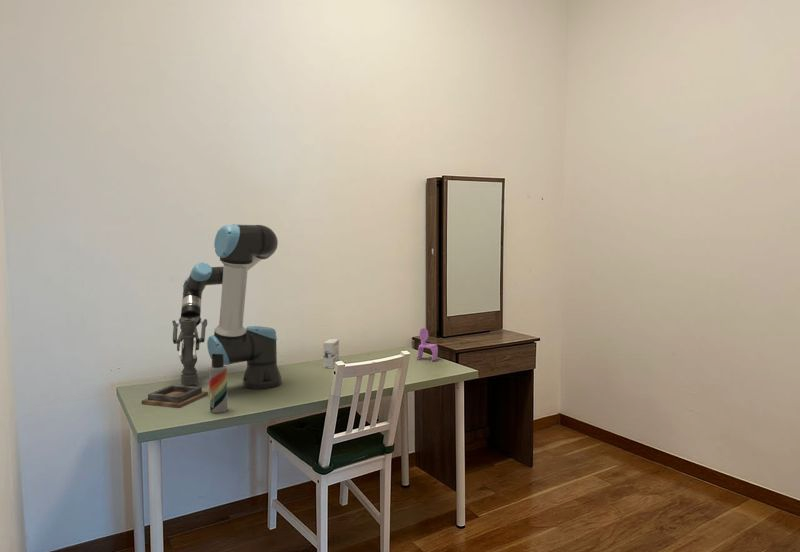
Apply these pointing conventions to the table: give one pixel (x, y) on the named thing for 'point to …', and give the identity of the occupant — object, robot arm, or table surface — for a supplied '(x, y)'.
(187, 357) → the candle holder
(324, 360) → the ink box
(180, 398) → the socket plate
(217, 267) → the robot arm
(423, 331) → the toy chair
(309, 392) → the table surface
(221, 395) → the lotion bottle
